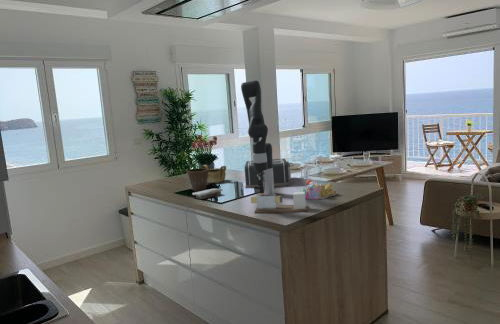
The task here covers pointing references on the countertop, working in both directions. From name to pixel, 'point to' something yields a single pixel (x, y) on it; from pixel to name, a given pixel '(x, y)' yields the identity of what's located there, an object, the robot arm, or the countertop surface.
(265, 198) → the sleeve
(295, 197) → the socket
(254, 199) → the sliding latch bolt
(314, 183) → the candy landscape model
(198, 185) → the plant pot
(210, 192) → the packaged product
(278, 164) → the toaster
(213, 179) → the woven basket
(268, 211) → the base board
